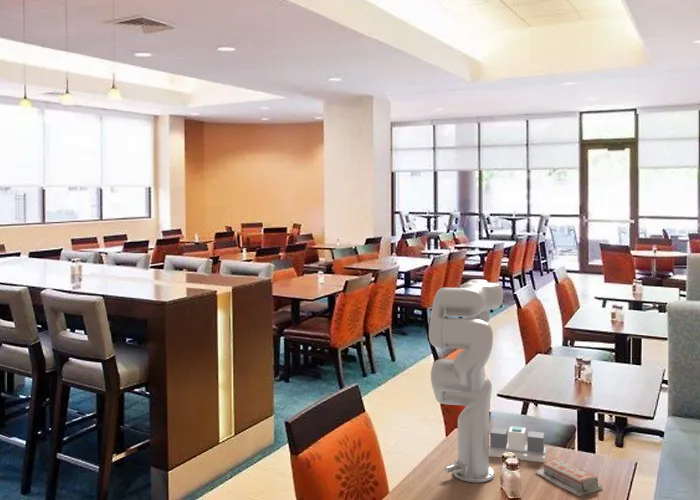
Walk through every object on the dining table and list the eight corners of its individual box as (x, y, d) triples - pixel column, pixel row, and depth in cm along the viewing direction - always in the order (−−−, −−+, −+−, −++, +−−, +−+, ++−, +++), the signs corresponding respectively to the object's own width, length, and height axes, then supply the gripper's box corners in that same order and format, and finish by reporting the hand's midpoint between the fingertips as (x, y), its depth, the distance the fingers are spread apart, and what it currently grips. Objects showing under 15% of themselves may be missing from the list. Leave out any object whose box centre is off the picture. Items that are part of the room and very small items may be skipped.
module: (508, 449, 219) (508, 429, 219) (510, 443, 224) (510, 424, 223) (524, 450, 218) (524, 431, 217) (525, 445, 222) (525, 426, 222)
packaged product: (604, 474, 194) (579, 482, 190) (603, 490, 195) (579, 498, 190) (558, 453, 210) (535, 459, 206) (558, 467, 211) (534, 474, 206)
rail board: (488, 455, 220) (488, 434, 219) (491, 445, 228) (491, 425, 228) (544, 462, 214) (544, 440, 213) (546, 451, 222) (546, 430, 222)
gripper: (485, 321, 215) (485, 373, 217) (492, 311, 231) (492, 359, 233) (462, 320, 218) (462, 371, 219) (471, 310, 234) (471, 358, 236)
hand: (478, 365), depth 226 cm, fingers open, 9 cm apart
